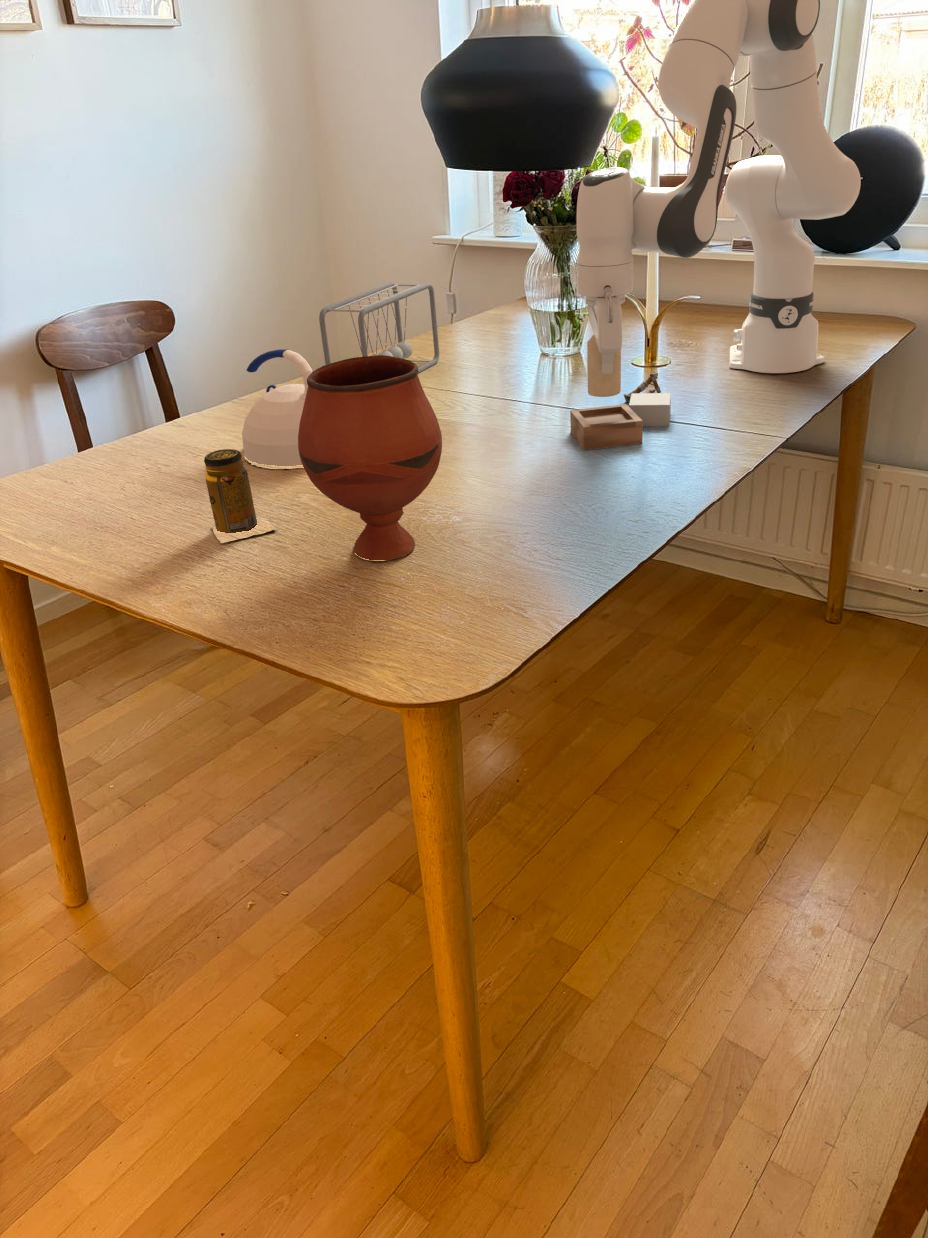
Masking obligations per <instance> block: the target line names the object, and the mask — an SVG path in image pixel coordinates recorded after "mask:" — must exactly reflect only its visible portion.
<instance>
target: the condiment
mask: <svg viewBox="0 0 928 1238" xmlns="http://www.w3.org/2000/svg"><path fill="white" fill-rule="evenodd" d="M242 456H243V455H242V453H241V452H240V451H239V450H238V449H234V448H233V449H230V448H225V449H218V450H213V451H211V452H209V453H207V454H206V455H205V456H204V459H203V462H204V465H205V471H206V473H205V483H206V488H207V493H208V498H209V502H210V507H211V511H212V517H213V520H214V525H215V527H216V529H217V531H220V532H225V533H236V532H242V531H249V530H251V529H252V528H254V527H255V526H256V525H257V519H256V517H257V515H256V509H255V504H254V499H253V494H252V489H251V484H250V478H249V473H248V470H247V469H246V467H245V466H244V465H245V463H244V461H243V458H242Z"/></svg>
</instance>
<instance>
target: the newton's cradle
mask: <svg viewBox="0 0 928 1238" xmlns="http://www.w3.org/2000/svg"><path fill="white" fill-rule="evenodd" d="M398 287H411V288H407V289H401V291H400V292H399V289H398ZM427 289H428V293H429V294H428V296H429V305H430V307H429V308H430V315H431V328H432V338H433V350H434V353H433V354H434V356H433V359H432V360H419V359H408V358H410V357H411V356H412V354H413V346H412V345H411V343H409V342H408V341H407V340H406V331H404V333H403V327H402V318H401V308H400V306H401V305H400V300H403V299H405V305H408V304H407V302H408V301H407V299H408V297H410V296H412V295H415V294H418V293H420V292H422V291H425V290H427ZM390 290H391V291H392V295H391V296H390V293H389V291H390ZM386 291H387V296H388V297H380V295H385V293H383V292H386ZM376 295H377V296H376ZM375 296H376V297H375ZM370 298H374V299H375V298H376V299H378V301H377V300H376V301H375V300H374V301H371V300H370ZM366 299H368V300H366ZM360 302H362V303H363V302H367V303H369V304H368V305H366V304H365V305H362V304H361V303H360ZM356 303H358V304H359V305H357V304H356ZM355 304H356V305H355ZM389 305H390V306H391V309H392V312H393V317H394V320H395V326H394V327H395V328H394V330H395V331H394V341H396V338H397V345H396V344H392V343H393V342H392V340H391V339H392V338H391V336H390V332H389V329H388V328H389V327H388V323H387V322H388V318H389ZM393 305H394V307H393ZM350 306H354V307H355V306H356V307H359V308H358V309H351V307H350ZM362 306H363V307H362ZM386 306H387V310H386V312H387V313H386V317H385V313H384V310H383V308H384V307H386ZM436 306H437V305H436V297H435V289H434V286H433V285H432V284H431V283H430V282H426V283H423V284H413V283H412V284H409V283H407V284H406V283H405V284H404V283H401V284H400V283H394V282H393V281H391V282H388V283H385V284H382V285H379V286H377V287H373V288H371V289H369V290H367V291H363V292H361V293H358V294H356V295H353V296H351V297H348V298H345V299H343V300H340V301H338V302H335V303H332V304H329V305H327V306H325V307H323V308H321V310H320V312H319V317H318V321H319V328H320V335H321V341H322V350H323V355H324V365H328V364H330V363H332V362H331V355H330V347H329V341H328V334H327V333H328V332H327V325H326V315H327V313H331V312H341V313H342V312H346V313H349V312H350V316H351V320H352V323H353V327H354V331H355V335H356V337H357V341H358V345H359V347H360V352H361V357H365V356H369V354H368V347H369V345H368V343H369V344H370V350H371V352H372V356H374V355H385V356H392V357H398V358H403V359H406V360H407V359H408V360H409V361H411V362H413V363H424V364H422V365H421V366H419V367H418V366H417V367H418V374H421V372H424V371H426V370H427V369H429V368H431V367H433V366H435V365H436V364H437V363H438V362H439V360H440V344H439V343H440V342H439V330H438V319H437V310H436V308H437V307H436ZM345 307H346V308H347V307H348V309H344V308H345ZM379 309H381V311H382V315H383V318H384V322H385V326H386V329H385V342H387V336H388V337H389V340H390V344H391V345H390V346H389V347H388V348H387V346H385V349H384V348H383V344H382V340H381V337H380V333H379V319H377V320H376V318H375V315H374V314H375V313H374V312H375V311H376V310H377V315H379V313H380V311H379ZM404 310H405V312H404V313H405V317H404V327H406V326H407V325H406V323H407V322H406V321H407V309H404ZM352 313H359V314H358V317H357V324H358V325H357V326H358V331H359V335H358V333H357V329H356V325H355V322H354V318H353V315H352ZM370 313H372V316H373V320H374V324H375V327H376V337H378V338H379V341H380V346H381V351H380V352H378V341H376V343H375V344H376V346H375V347H376V348H375V354H374V350H373V346H372V342H371V340H370V339H371V338H370V336H369V328H368V327H367V325H366V322H365V316H366V315H367V324H369V318H370ZM376 321H377V322H376ZM396 333H397V334H396ZM387 334H388V335H387ZM403 334H404V336H403ZM366 335H367V336H366ZM396 336H397V337H396ZM368 341H369V342H368Z"/></svg>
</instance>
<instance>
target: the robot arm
mask: <svg viewBox="0 0 928 1238" xmlns="http://www.w3.org/2000/svg"><path fill="white" fill-rule="evenodd" d="M820 8H821V0H691V1H690V2H689V4H688V6H687V8H686V10H685V11H684V13H683V15H682V16H681V18H680V20H679V22H678V25H677V26H676V29H675V31H674V33H673V34H672V38H671V40H670V43H669V45H668V48H667V50H666V53H665V55H664V57H663V61H662V64H661V67H660V70H659V74H658V82H657V86H658V92H659V96H660V98H661V101H662V103H663V104H664V105H665V107H666V109H668V111H669V112H670V113H672V114H673V116H675V117H676V118H677V119H678V120H680V121H682V122H683V123H685V124H687V125H689V126H692V127H694V128H695V129H696V138H695V142H694V143H695V144H694V147H693V151H692V157H691V160H690V165H689V169H688V173H687V177H686V179H685V180H684V182H682V183H681V184H679V185H677V186H675V187H667V186H666V187H664V186H663V187H659V186H656V187H655V186H648V185H647V186H646V185H645V184H642V183H640V182H638V181H636V180H635V179H633V178H632V177H631V174H630V171H629V170H628V169H627V168H624V167H619V166H618V167H617V166H616V167H615V166H614V167H606V168H601V169H597V170H594V171H591V172H589V173H588V174H586V175H585V176H584V177H582V179H581V181H580V183H579V189H578V193H577V194H578V195H577V202H576V236H577V237H576V238H577V240H578V246H579V248H578V249H579V250H578V255H577V258H576V262H577V263H576V274H577V276H576V277H577V280H576V281H577V285H576V287H577V289H576V290H577V294H578V295H580V296H582V297H585V301H584V302H585V304H586V305H587V306H586V307H587V313H588V321H589V324H590V328H591V330H592V331H591V332H592V334H593V335H594V337H595V341H596V344H597V347H598V350H599V352H600V353H601V370H602V373H603V374H611V373H612V372H613V360H614V354H615V352H620V351H621V352H622V349H623V323H622V322H623V314H622V311H623V310H622V304H624V303H625V301H626V297H625V296H626V295H628V294H630V293H632V292H633V291H634V255H633V252H632V251H637V252H638V251H640V252H646V253H657V254H666V255H669V256H675V257H679V258H686V259H687V258H692V257H694V256H696V255H697V254H698V253H700V252H701V251H703V249H704V248H705V247H707V245H708V244H709V243H710V242H711V240H712V238H713V237H714V235H715V232H716V229H717V222H718V215H719V214H718V212H719V211H718V210H719V199H720V193H721V189H722V186H723V180H724V176H725V171H726V167H727V162H728V159H729V154H730V149H731V144H732V140H733V135H734V131H735V126H736V118H737V99H736V96H735V94H734V93H733V91H732V90H731V89H730V86H731V80H732V76H733V74H734V71H735V68H736V65H737V63H738V59H739V57H749V73H750V74H749V75H750V76H749V77H750V78H749V79H750V89H751V100H752V102H751V103H752V113H753V123H754V124H753V125H754V128H755V131H756V133H757V134H758V136H760V137H761V138H762V139H763V140H765V141H766V142H767V143H769V144H770V145H772V146H773V147H774V148H775V149H776V150H777V151H778V153H779V154H777V155H775V154H772V155H771V154H768V155H767V154H766V155H758V156H754V157H753V156H752V157H749V158H745V159H743V160H739V161H738V162H737V163H736V164H734V166H733V167H732V168H731V170H730V171H729V173H728V176H727V178H726V182H725V187H724V192H725V195H724V196H725V199H726V202H727V204H728V207H729V208H730V210H731V211H732V212H733V213H734V214H736V216H737V217H738V218H739V219H740V220H741V221H742V224H743V225H744V226H745V228H746V230H747V233H748V235H749V237H750V241H751V244H752V249H753V257H754V258H753V259H754V261H753V262H754V263H753V265H754V268H753V269H754V270H753V272H754V273H753V289H752V290H753V291H752V293H751V295H750V299H749V303H748V304H749V306H748V307H749V308H748V314H747V317H746V318H745V320H744V321H743V323H742V326H741V328H738V329H737V328H736V329H733V341H734V342H739V341H740V343H737V344H735V345H731V346H730V347H729V355H728V356H729V360H728V361H729V363H728V364H729V365H728V366H729V368H730V369H735V370H736V369H738V370H746V371H751V372H756V373H762V374H788V373H797V372H801V371H806V370H809V369H811V368H813V367H814V366H816V365H820V364H822V363H824V362H825V357H824V356H823V355H821V354H819V353H818V345H819V344H818V343H819V321H818V320H817V318H815V317H814V316H813V315H812V312H813V307H814V303H815V299H814V294H815V293H814V292H813V291H812V290H813V282H814V272H815V271H814V269H815V261H816V259H815V258H816V256H815V252H814V248H813V247H812V246H811V244H809V243H808V242H807V241H806V240H805V239H803V238H801V236H799V234H798V233H797V232H796V229H794V225H793V219H794V220H814V221H816V220H824V219H831V218H835V217H840V216H844V215H845V214H847V212H849V211H850V210H851V209H852V207H853V206H854V205H855V202H856V201H857V199H858V197H859V195H860V190H861V184H862V183H861V173H860V170H859V168H858V166H857V165H856V163H855V161H853V159H851V158H850V157H848V156H847V155H845V154H844V153H843V152H842V151H841V150H840V149H839V148H838V146H836V144H835V143H834V142H833V140H832V138H831V137H830V134H829V133H828V131H827V129H826V127H825V124H824V122H823V119H822V114H821V107H820V100H819V88H818V73H817V72H818V71H817V70H818V69H817V67H818V66H817V56H816V48H815V40H814V36H813V33H814V31H815V29H816V27H817V24H818V21H819V15H820V11H821V10H820Z"/></svg>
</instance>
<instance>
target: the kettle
mask: <svg viewBox="0 0 928 1238" xmlns="http://www.w3.org/2000/svg"><path fill="white" fill-rule="evenodd" d="M276 358H281V359H282V358H283V359H284V358H285V359H287V360H290V361H291V362H292V363H293V364H294V365H295V366H296V368H297V369H298V371H299V372H300V375H301V377H302V380H303V383H289V384H288V383H287V384H284V385H281V386H280V385H279V386H278V387H277V386H276V385H274V384H271V385H269V386H267V387H266V390H265V391H266V392H265V393H264V394H263V395H262V396H261V397H260V398H259V399H258V400H257V401H256V402H254V404H253V405H252V407H251V409H250V411H249V412H248V413H247V415H246V417H245V420H244V423H243V429H242V433H241V437H242V448H243V455H244V456H245V457H246V458H247V459H248V460H250V461H252V462H256V463H258V464H264V465H265V464H266V465H275V466H276V465H277V466H294V465H295V466H296V465H303V464H302V462H301V459H300V456H299V450H298V432H299V424H300V419H301V415H302V411H303V407H304V402H305V398H306V394H307V389H308V385H307V378H308V376H309V375H310V374H311V373H312V372H313V371H314V370H313V369H312V367H311V366H310V364H309V363H308V361H307V360H306V359H305V358H304V357H303V356H302V355H301V354H300V353H299V352H296V351H292V350H290V349H285V348H284V349H274V350H269V351H266V352H264V353H262V354H260V355H258V356H257V357H256V358H254V359H253V360H252V361H251V362H250V363H249V365H248V367H247V368H246V372H248V373H255V372H257V371H258V369H259V368H260V367H261V366H262V364H263V363H265V362H267V361H269V360H272V359H276ZM244 456H243V457H244Z"/></svg>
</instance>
